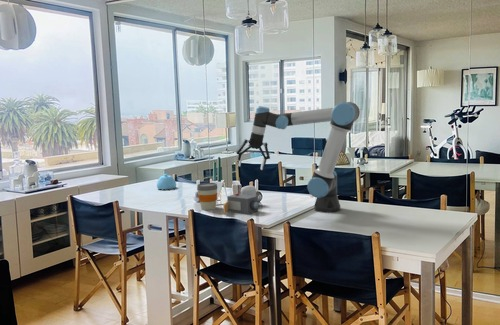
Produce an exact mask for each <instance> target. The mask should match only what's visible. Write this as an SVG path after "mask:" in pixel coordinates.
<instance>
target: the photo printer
mask: <svg viewBox="0 0 500 325" xmlns="http://www.w3.org/2000/svg"><path fill="white" fill-rule="evenodd" d="M240 194H245V195H253V196H257V188H256V186H254V185H246V186H243V187H241V188H240Z"/></svg>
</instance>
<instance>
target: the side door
mask: <svg viewBox="0 0 500 325" xmlns="http://www.w3.org/2000/svg"><path fill="white" fill-rule="evenodd" d="M228 210H229V200H228V199H227V200H226V201H225V202H224V203H223V214H224V215H226V214H227V213H228V212H229V211H228Z"/></svg>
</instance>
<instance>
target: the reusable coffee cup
mask: <svg viewBox="0 0 500 325" xmlns="http://www.w3.org/2000/svg"><path fill="white" fill-rule="evenodd" d="M196 186H197V187H196V189H197V192H198V194H197V196H198V201H199V204H200V208H201V210H203V211H210V210H215V209H216V208H217V200H218V183H217V182H203V183H198V184H197V185H196Z"/></svg>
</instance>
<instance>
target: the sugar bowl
mask: <svg viewBox="0 0 500 325" xmlns="http://www.w3.org/2000/svg"><path fill="white" fill-rule="evenodd" d="M176 187H177V183H176V180H175V178H174V177H173V176H172V175H168V173H164V174H163V175H161V176H160V177H159V179H158V180H157V183H156V188H157V189H158V190H159V189H170V190H174V189H175V188H176ZM173 188H174V189H173Z"/></svg>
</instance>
